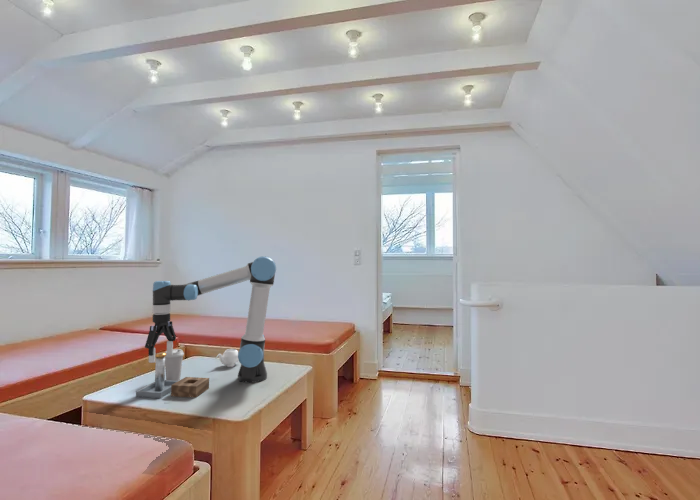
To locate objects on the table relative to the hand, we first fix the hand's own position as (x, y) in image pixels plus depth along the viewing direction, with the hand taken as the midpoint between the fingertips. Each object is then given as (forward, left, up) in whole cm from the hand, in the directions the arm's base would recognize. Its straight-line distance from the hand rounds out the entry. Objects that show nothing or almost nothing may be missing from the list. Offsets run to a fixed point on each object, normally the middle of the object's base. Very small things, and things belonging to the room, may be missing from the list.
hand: (161, 358), depth 172 cm
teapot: (-15, -45, -16) cm, 50 cm away
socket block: (-15, -1, -15) cm, 21 cm away
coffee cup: (+3, -16, -16) cm, 23 cm away
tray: (0, 0, -15) cm, 15 cm away
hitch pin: (0, 0, -15) cm, 15 cm away
